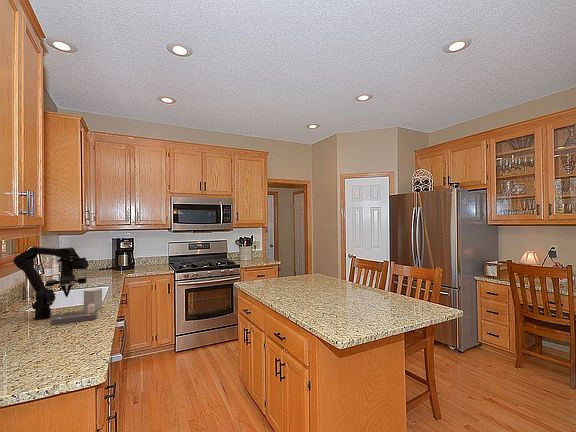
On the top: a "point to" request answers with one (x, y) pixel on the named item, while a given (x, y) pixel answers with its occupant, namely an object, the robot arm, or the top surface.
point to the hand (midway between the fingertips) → (66, 296)
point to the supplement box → (93, 298)
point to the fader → (91, 308)
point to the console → (73, 317)
